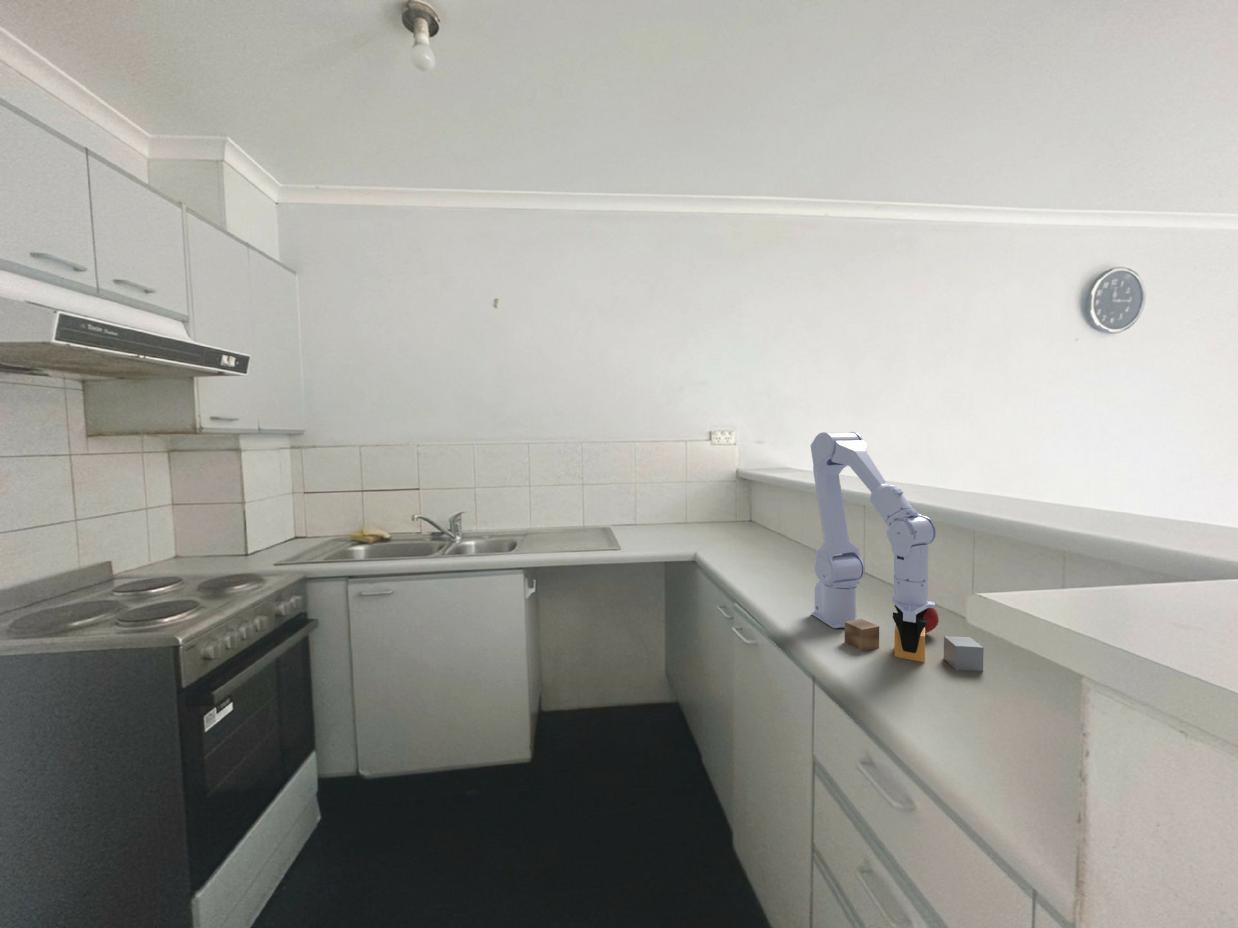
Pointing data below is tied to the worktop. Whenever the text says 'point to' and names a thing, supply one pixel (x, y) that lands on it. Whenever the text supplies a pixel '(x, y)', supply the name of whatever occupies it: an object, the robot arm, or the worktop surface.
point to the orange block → (908, 655)
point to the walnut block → (862, 634)
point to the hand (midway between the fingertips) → (909, 646)
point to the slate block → (963, 653)
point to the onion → (931, 619)
